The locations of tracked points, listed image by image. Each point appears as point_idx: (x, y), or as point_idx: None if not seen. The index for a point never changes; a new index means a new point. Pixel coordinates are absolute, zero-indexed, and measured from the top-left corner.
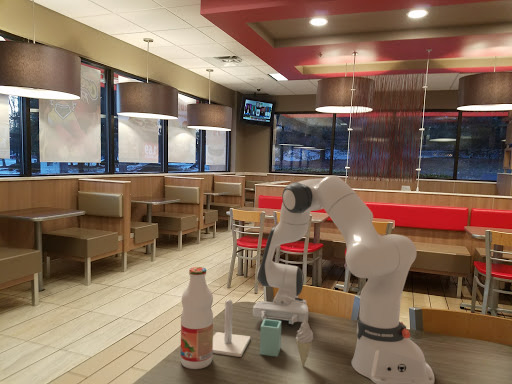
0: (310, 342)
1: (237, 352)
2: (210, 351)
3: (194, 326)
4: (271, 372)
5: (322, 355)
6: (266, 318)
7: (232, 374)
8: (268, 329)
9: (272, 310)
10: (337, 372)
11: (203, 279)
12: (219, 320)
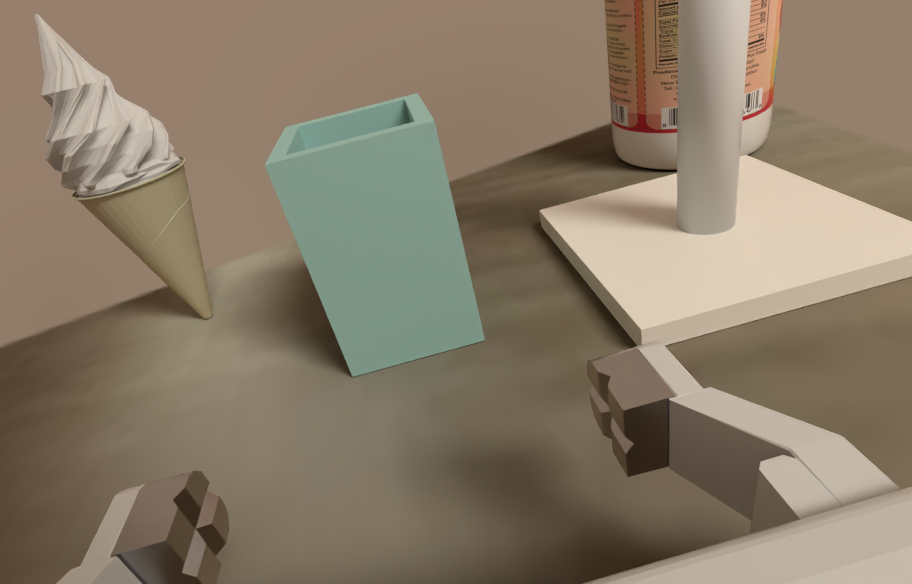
0: (97, 217)
1: (564, 207)
2: (612, 97)
3: None
4: None
5: (40, 448)
6: (611, 427)
7: (497, 176)
8: (364, 127)
9: (617, 579)
10: (37, 356)
11: None
12: None
